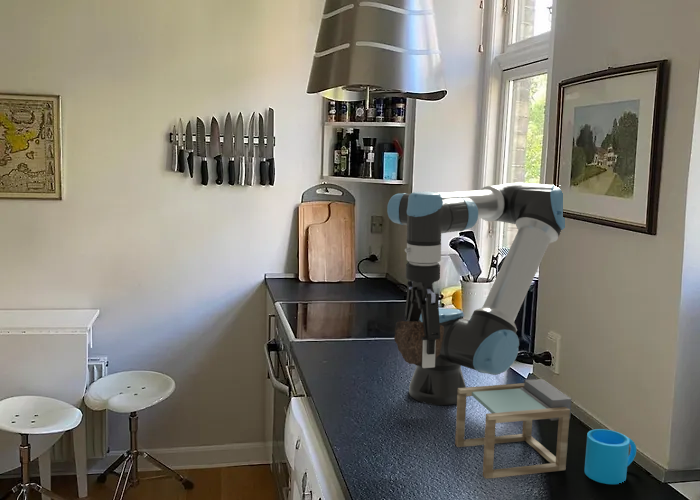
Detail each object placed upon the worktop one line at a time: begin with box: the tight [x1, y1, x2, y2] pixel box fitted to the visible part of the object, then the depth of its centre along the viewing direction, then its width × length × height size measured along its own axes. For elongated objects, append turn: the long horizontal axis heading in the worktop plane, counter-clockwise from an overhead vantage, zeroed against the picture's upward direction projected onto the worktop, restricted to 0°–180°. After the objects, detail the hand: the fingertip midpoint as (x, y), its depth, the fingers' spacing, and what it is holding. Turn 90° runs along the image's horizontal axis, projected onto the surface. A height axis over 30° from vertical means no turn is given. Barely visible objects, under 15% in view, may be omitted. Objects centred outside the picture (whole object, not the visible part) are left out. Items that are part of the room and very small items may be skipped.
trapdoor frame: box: [454, 382, 571, 479], centre depth 148 cm, size 16×18×13 cm
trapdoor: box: [471, 378, 573, 422], centre depth 147 cm, size 12×17×4 cm
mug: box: [584, 428, 637, 485], centre depth 142 cm, size 12×8×8 cm
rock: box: [393, 320, 444, 366], centre depth 154 cm, size 12×10×10 cm
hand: (420, 359), depth 156 cm, fingers closed on rock, 9 cm apart
